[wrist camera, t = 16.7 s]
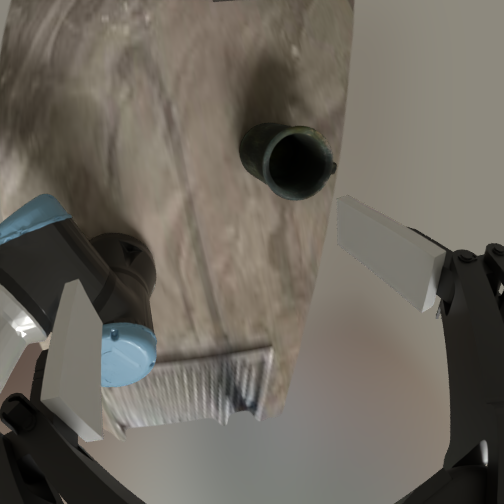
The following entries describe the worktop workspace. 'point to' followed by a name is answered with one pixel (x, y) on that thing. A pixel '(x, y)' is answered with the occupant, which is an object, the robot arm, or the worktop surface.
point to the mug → (288, 159)
